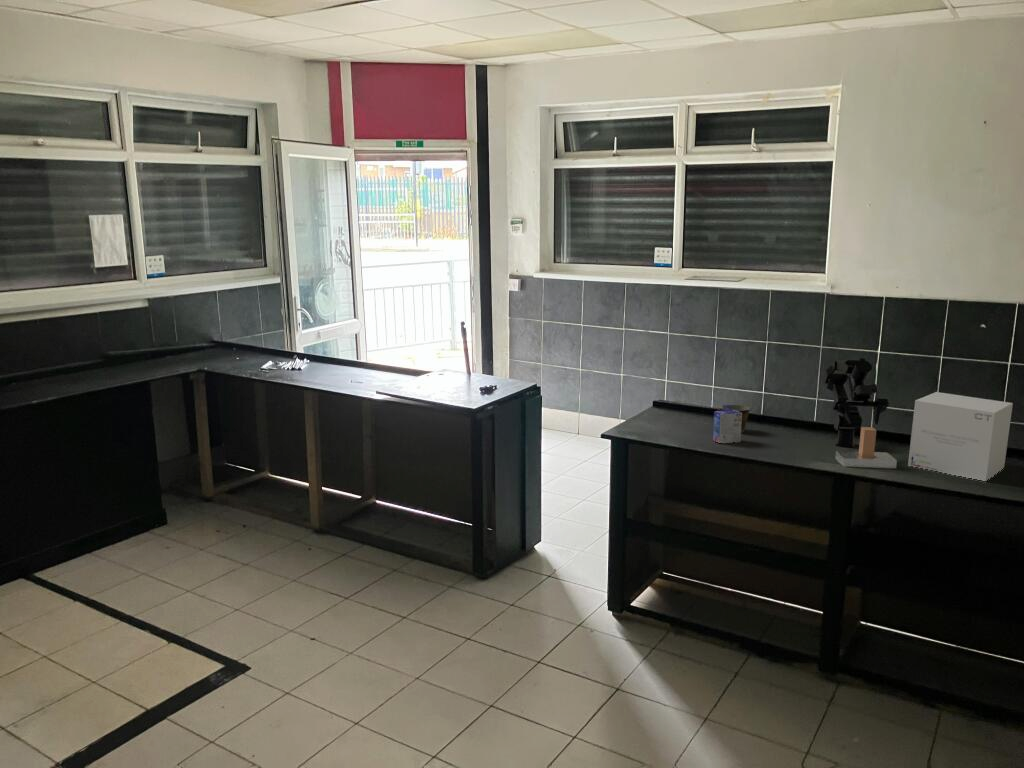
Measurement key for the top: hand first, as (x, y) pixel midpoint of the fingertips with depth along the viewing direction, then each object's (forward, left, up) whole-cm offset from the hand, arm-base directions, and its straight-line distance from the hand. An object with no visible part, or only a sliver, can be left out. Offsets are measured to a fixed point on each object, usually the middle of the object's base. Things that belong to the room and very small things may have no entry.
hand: (863, 423), depth 292 cm
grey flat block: (+5, +2, -13) cm, 15 cm away
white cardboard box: (-6, +31, -14) cm, 34 cm away
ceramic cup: (-18, -51, -14) cm, 56 cm away
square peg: (+5, +2, -13) cm, 15 cm away
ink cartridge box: (0, -49, -14) cm, 51 cm away
